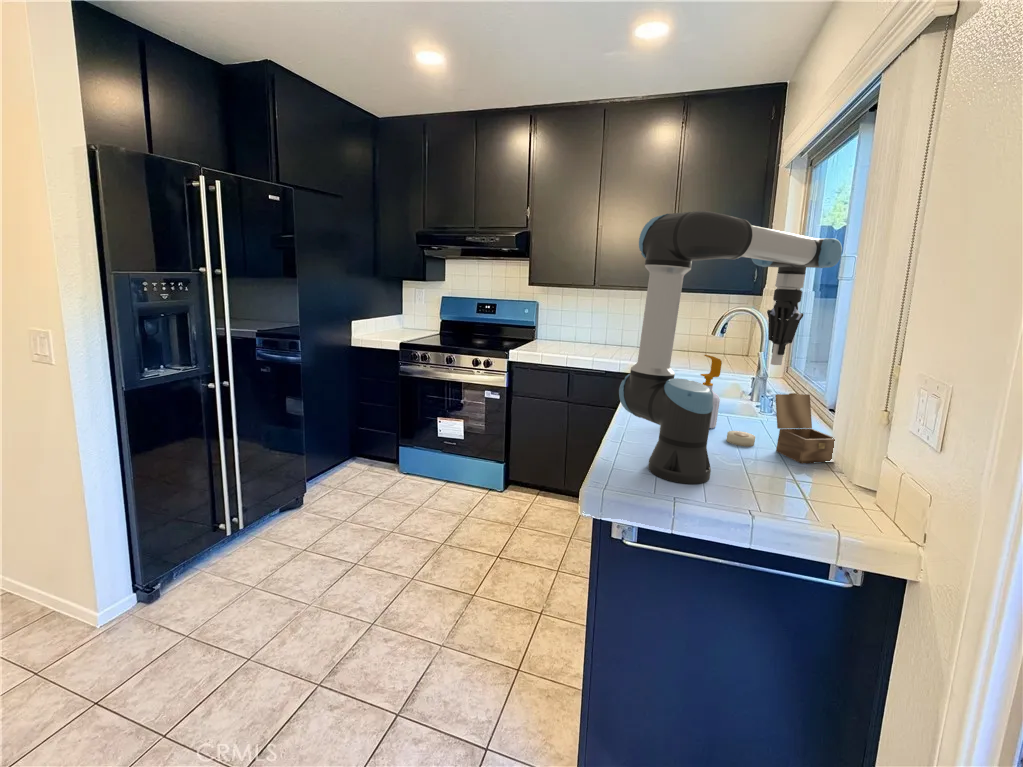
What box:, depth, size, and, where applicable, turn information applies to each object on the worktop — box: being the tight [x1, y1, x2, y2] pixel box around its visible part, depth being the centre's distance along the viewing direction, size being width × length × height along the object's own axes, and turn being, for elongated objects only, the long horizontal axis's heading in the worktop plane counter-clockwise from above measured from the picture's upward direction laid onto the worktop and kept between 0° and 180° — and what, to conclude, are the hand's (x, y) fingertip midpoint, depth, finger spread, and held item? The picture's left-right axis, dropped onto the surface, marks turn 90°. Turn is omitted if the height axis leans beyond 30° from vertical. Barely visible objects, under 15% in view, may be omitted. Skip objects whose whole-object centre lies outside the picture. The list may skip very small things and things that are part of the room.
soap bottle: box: [700, 354, 723, 429], centre depth 170 cm, size 9×9×25 cm
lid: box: [775, 392, 813, 430], centre depth 150 cm, size 11×10×1 cm
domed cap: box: [726, 430, 756, 448], centre depth 156 cm, size 8×8×3 cm
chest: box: [775, 428, 835, 464], centre depth 145 cm, size 11×10×7 cm
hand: (775, 364), depth 157 cm, fingers closed
